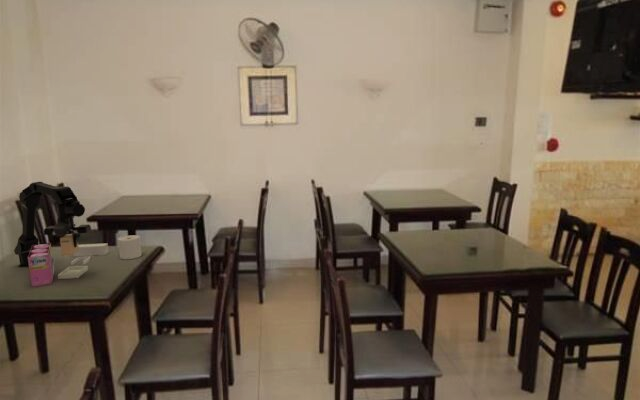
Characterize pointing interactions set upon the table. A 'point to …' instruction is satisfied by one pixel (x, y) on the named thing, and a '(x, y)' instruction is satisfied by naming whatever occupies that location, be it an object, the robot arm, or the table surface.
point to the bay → (90, 252)
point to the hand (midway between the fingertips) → (70, 247)
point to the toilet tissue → (129, 247)
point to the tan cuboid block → (68, 245)
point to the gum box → (41, 264)
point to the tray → (72, 272)
